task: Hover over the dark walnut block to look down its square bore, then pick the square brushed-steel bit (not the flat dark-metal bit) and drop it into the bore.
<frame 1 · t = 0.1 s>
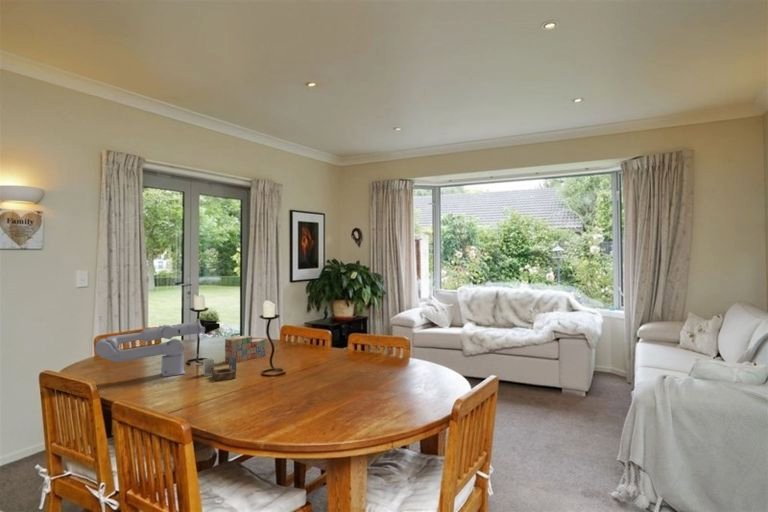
hand: (217, 324, 214), 22 cm above the table, tool horizontal, fingers open, 7 cm apart
stack of blocks: (245, 359, 233), on the table
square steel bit: (208, 374, 202), on the table
walnut bore block: (223, 377, 197), on the table
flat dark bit: (232, 371, 208), on the table
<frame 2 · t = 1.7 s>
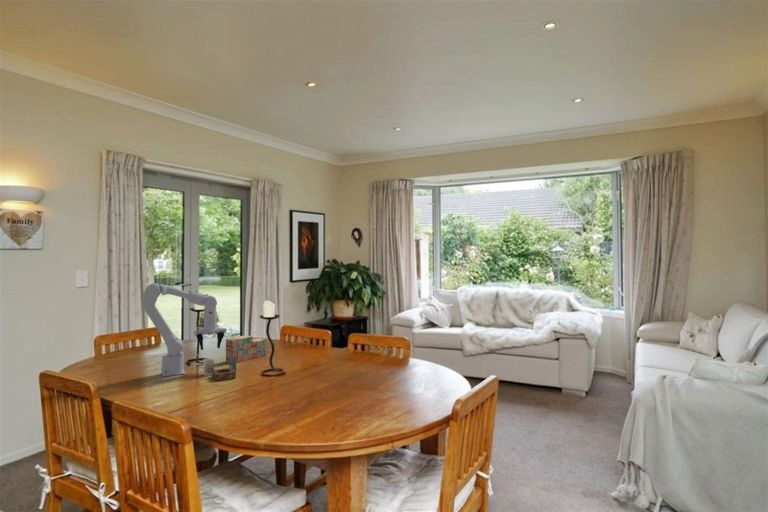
hand: (210, 348, 210), 10 cm above the table, tool pointing down, fingers open, 7 cm apart
nothing on the table moved.
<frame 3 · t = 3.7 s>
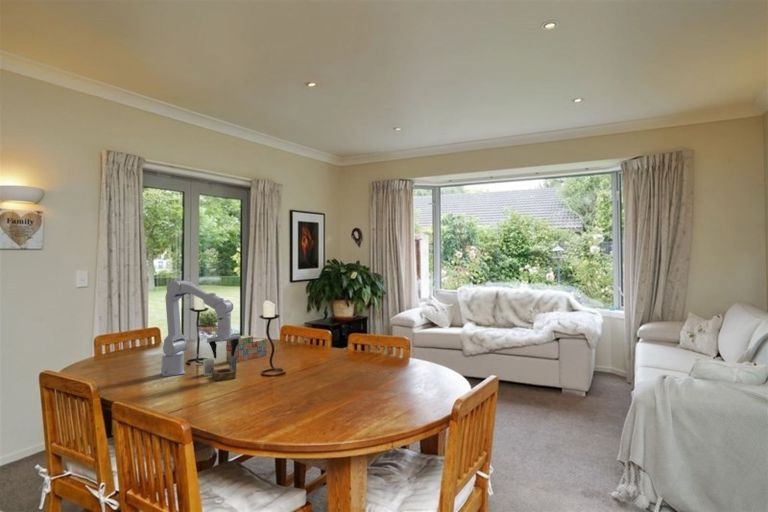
hand: (223, 356, 197), 9 cm above the table, tool pointing down, fingers open, 7 cm apart
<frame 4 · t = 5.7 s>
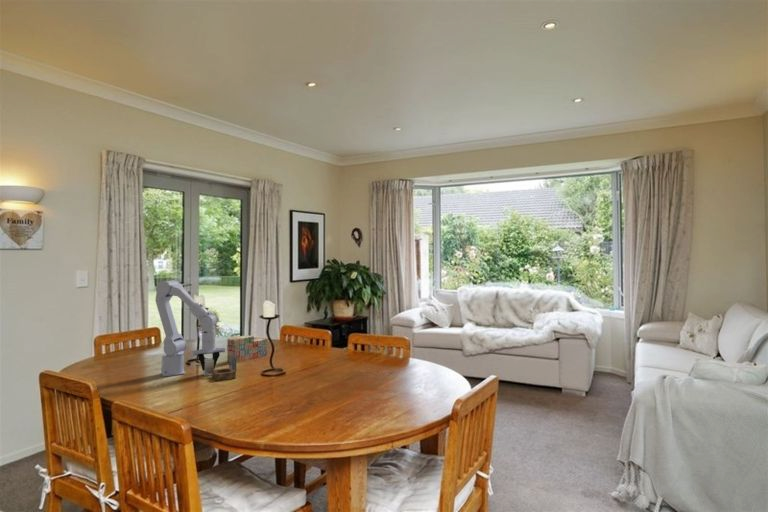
hand: (208, 369, 202), 2 cm above the table, tool pointing down, fingers closed on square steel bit, 4 cm apart
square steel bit: (208, 374, 202), on the table, touching gripper
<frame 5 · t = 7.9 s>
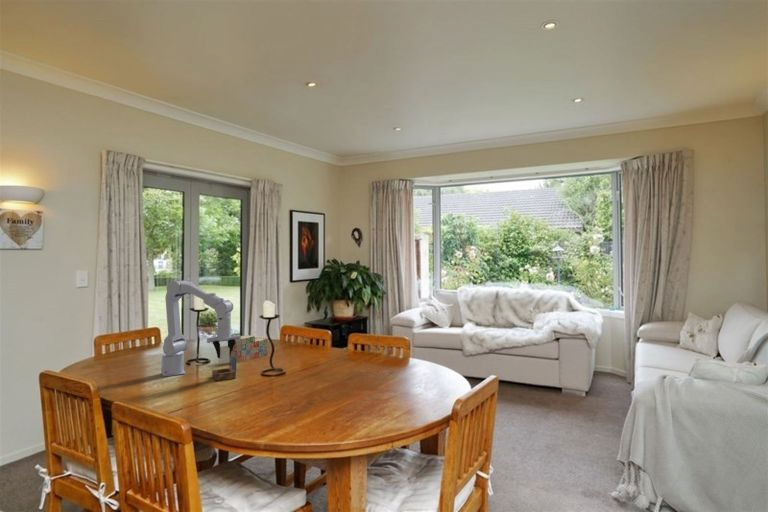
hand: (223, 356, 197), 9 cm above the table, tool pointing down, fingers closed on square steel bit, 4 cm apart
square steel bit: (223, 362, 197), point 7 cm above the table, touching gripper
when the fingers open (4 cm above the table, at t = 9.9 s): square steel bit drops 1 cm, resting in walnut bore block.
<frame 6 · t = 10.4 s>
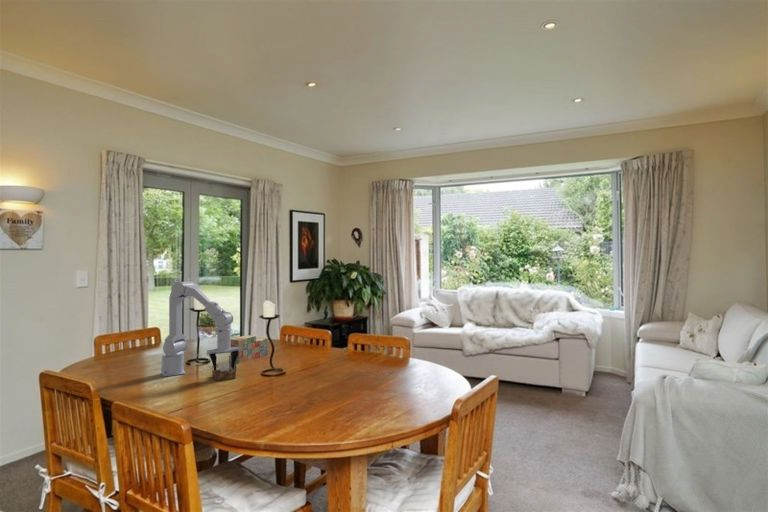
hand: (223, 368, 197), 4 cm above the table, tool pointing down, fingers open, 7 cm apart
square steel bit: (223, 377, 197), resting in walnut bore block
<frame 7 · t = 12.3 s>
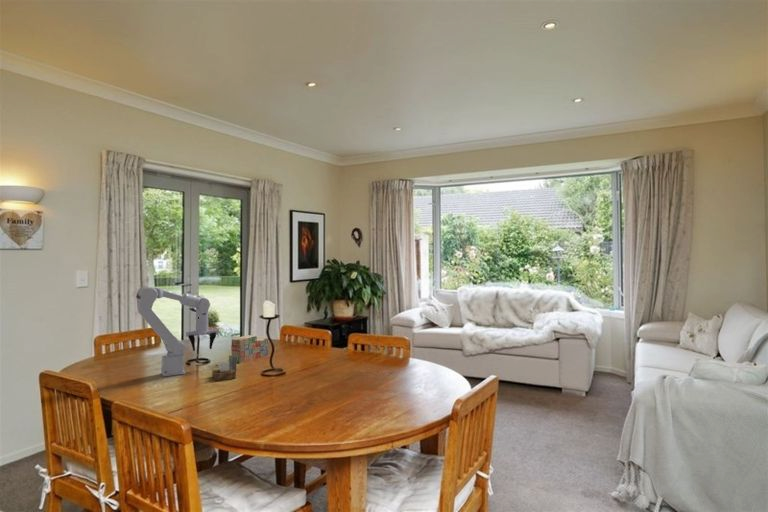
hand: (202, 349, 213), 9 cm above the table, tool pointing down, fingers open, 7 cm apart
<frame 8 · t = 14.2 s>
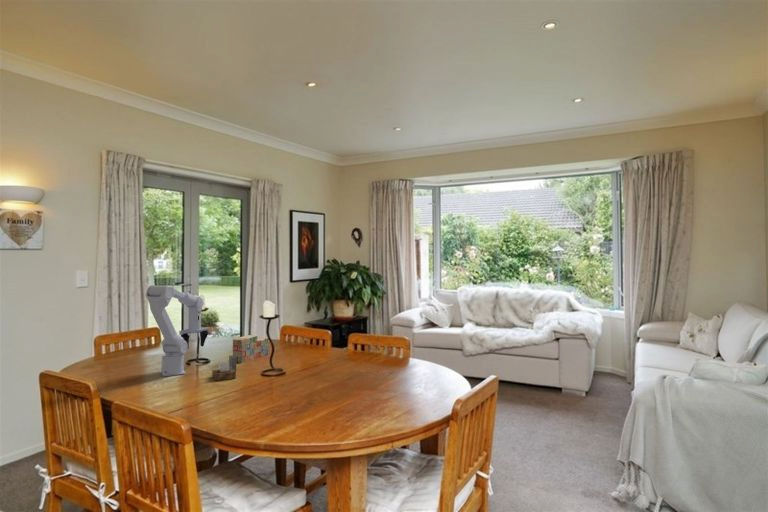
hand: (194, 347, 218), 9 cm above the table, tool pointing down, fingers open, 7 cm apart
at the end: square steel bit 0.0 cm off-centre on the walnut bore block, point 0.0 cm above the walnut bore block's base; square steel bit tilted 0°; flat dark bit moved 0.1 cm from its start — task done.
